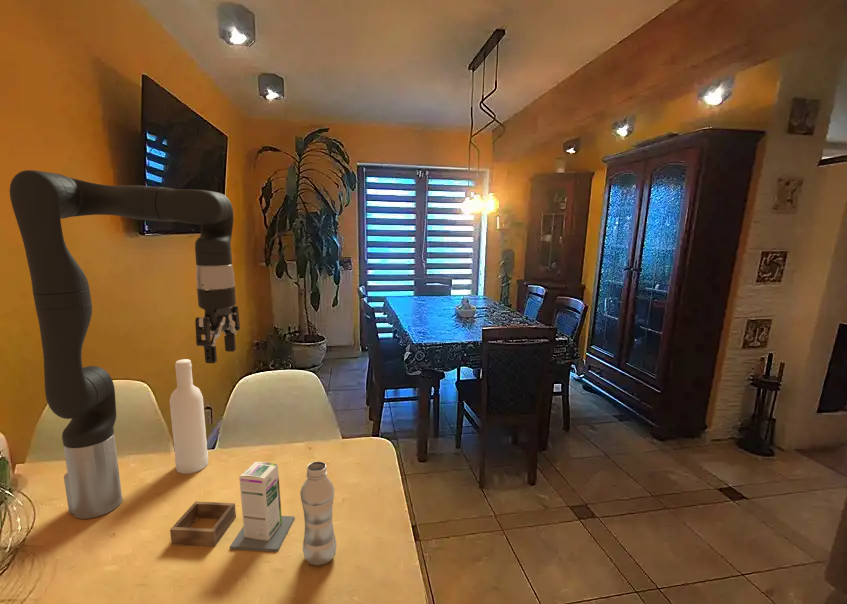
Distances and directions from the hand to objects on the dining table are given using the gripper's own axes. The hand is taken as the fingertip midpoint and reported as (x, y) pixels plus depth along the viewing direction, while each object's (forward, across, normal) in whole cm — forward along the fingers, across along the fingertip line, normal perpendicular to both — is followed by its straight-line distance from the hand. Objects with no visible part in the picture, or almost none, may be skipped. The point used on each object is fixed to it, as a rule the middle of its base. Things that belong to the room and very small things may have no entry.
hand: (221, 356), depth 98 cm
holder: (+36, +10, -1) cm, 37 cm away
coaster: (+36, +10, +12) cm, 39 cm away
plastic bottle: (+36, +16, +26) cm, 47 cm away
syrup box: (+36, +10, +12) cm, 39 cm away
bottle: (+36, -14, -18) cm, 43 cm away
